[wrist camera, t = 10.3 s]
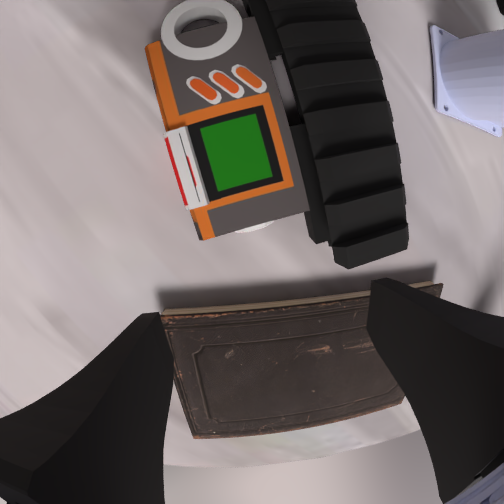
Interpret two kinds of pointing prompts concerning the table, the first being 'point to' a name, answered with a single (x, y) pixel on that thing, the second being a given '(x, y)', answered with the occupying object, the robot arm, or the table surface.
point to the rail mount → (339, 126)
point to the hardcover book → (278, 364)
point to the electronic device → (224, 121)
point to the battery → (501, 5)
